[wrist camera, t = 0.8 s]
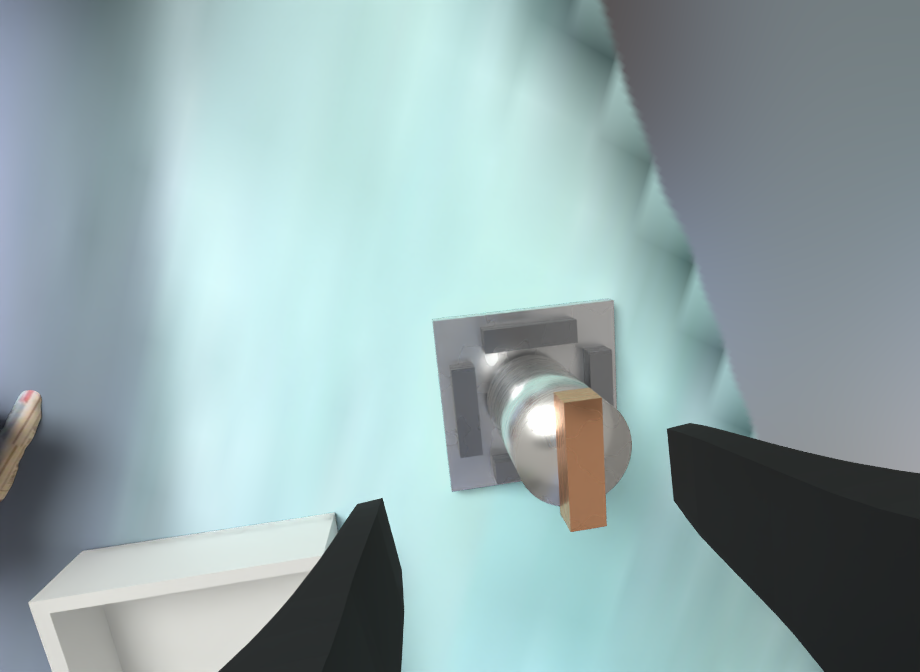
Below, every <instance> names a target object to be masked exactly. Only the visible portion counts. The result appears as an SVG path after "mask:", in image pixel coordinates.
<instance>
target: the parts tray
mask: <svg viewBox="0 0 920 672" xmlns="http://www.w3.org/2000/svg"><path fill="white" fill-rule="evenodd" d="M337 533H338V529H337V524H336V518H335V512H334V513H327V514H321V515H314V516H308V517H301V518H295V519H288V520H282V521H275V522H269V523H262V524H256V525H249V526H242V527H236V528H229V529H223V530H216V531H210V532H203V533H197V534H190V535H184V536H177V537H170V538H164V539H157V540H151V541H144V542H138V543H131V544H125V545H118V546H112V547H105V548H98V549H92V550H85V551H82V552H81V553H80V554H79V555H78V556H77V557H76V558H75V559H74V560H72V561H71V562H70V563H69V564H68V565H67V566H66V567H65V568H64V569H63V570H62V571H61V572H60V573H59V574H58V575H57V576H56V577H55V578H54V579H53V580H52V581H50V582H49V583H48V584H47V585H46V586H45V587H44V588H43V589H42V590H41V591H40V592H39V593H38V594H37V595H36V596H35V597H34V598H33V599H32V600H31V601H30V602H28V604H29V606H30V609H31V612H32V615H33V618H34V621H35V624H36V627H37V629H38V632H39V635H40V638H41V641H42V644H43V647H44V650H45V653H46V655H47V658H48V661H49V664H50V667H51V670H52V672H218V671H219V670H220V669H221V668H222V667H224V666H225V665H226V664H227V663H228V662H229V661H230V660H231V659H232V658H233V657H234V656H235V655H236V654H237V653H238V652H239V651H240V650H241V649H243V648H244V647H245V646H246V645H247V644H248V643H249V642H250V641H251V640H252V639H253V638H254V637H255V636H256V635H257V634H258V633H259V631H260V630H261V629H262V628H263V627H264V626H265V625H266V624H267V623H268V622H269V621H270V620H271V619H272V617H273V616H274V615H275V614H276V613H277V612H278V611H279V610H280V609H281V607H282V606H283V605H284V604H285V603H286V602H287V600H288V599H289V598H290V597H291V596H292V594H293V593H294V592H295V591H296V589H297V588H298V587H299V585H300V584H301V583H302V582H303V580H304V579H305V578H306V576H307V575H308V574H309V573H310V571H311V570H312V569H313V567H314V566H315V565H316V564H317V562H318V561H319V559H320V558H321V556H322V555H323V554H324V552H325V551H326V549H327V548H328V547H329V545H330V544H331V542H332V541H333V539H334V538H335V536H336V535H337Z"/></svg>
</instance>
